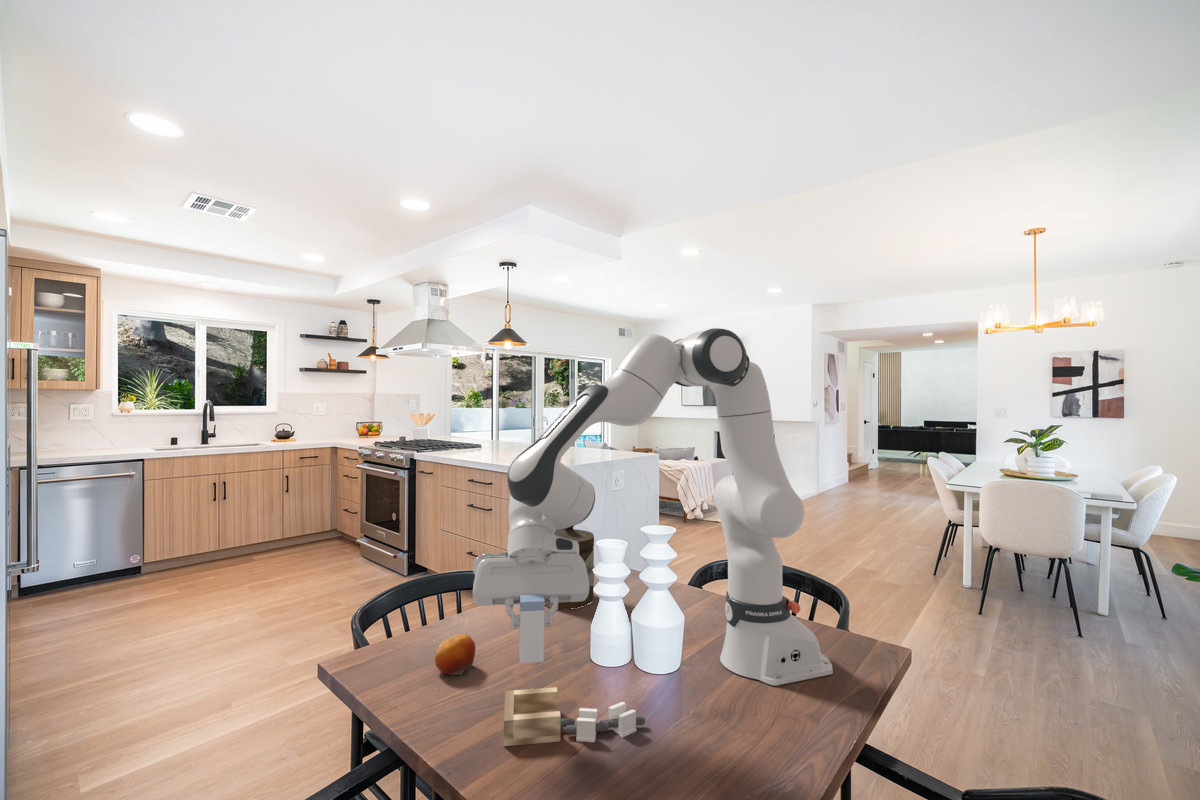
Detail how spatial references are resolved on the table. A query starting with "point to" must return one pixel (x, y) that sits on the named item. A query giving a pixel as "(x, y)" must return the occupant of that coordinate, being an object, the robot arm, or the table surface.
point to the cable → (600, 726)
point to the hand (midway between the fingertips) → (531, 626)
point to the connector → (531, 628)
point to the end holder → (531, 716)
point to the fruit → (455, 654)
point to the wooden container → (587, 554)
